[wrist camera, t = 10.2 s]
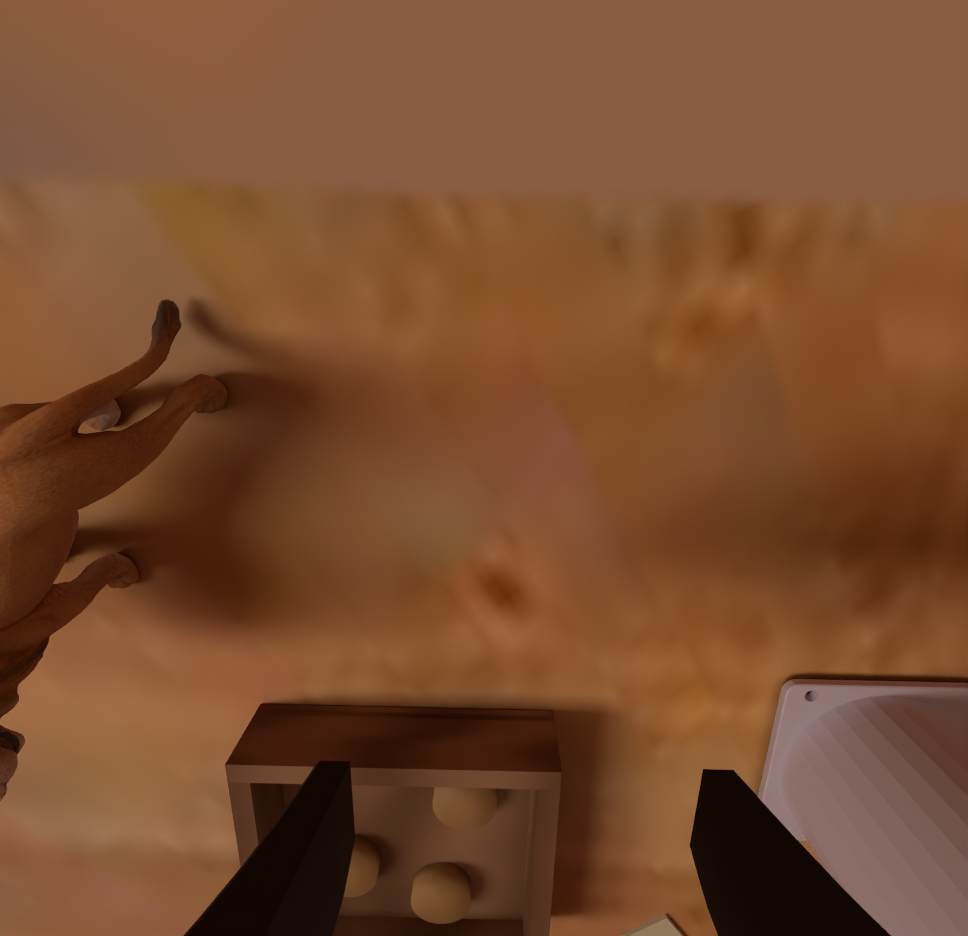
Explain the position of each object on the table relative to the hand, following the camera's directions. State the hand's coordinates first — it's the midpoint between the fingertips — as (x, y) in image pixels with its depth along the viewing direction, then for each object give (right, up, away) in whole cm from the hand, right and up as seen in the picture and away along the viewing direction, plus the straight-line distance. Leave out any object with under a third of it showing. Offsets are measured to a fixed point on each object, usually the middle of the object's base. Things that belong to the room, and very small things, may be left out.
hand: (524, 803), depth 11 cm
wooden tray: (-4, -9, +12) cm, 16 cm away
